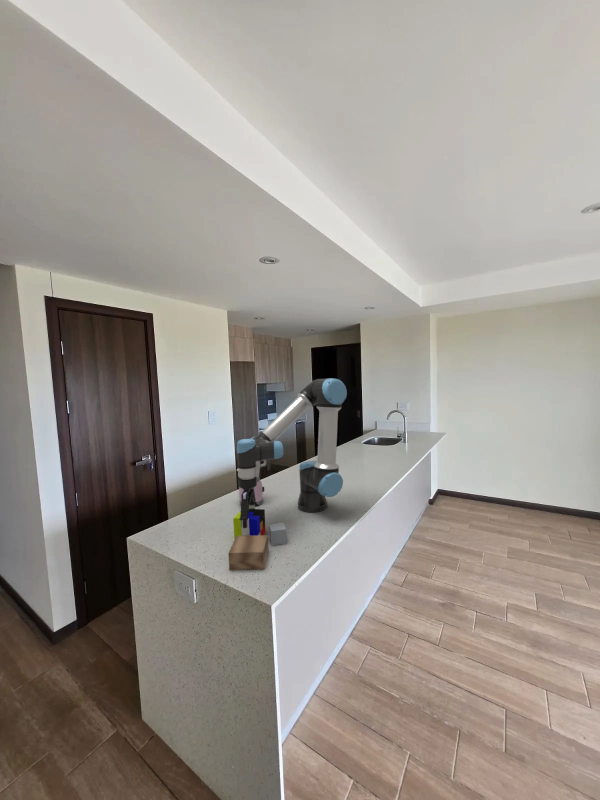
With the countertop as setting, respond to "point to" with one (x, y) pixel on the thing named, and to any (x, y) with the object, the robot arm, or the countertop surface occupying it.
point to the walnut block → (248, 552)
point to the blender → (258, 488)
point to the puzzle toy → (251, 523)
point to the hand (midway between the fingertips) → (249, 527)
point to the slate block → (277, 534)
